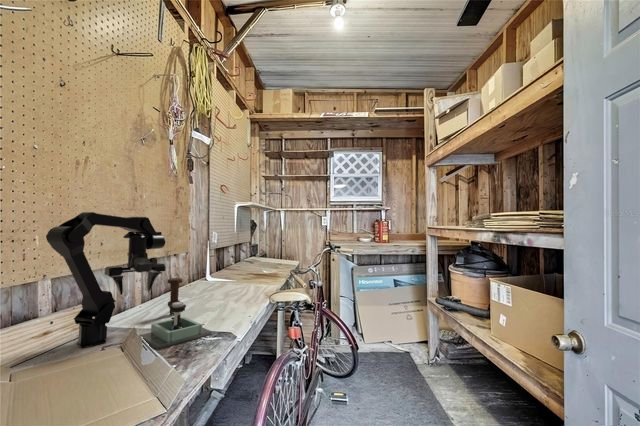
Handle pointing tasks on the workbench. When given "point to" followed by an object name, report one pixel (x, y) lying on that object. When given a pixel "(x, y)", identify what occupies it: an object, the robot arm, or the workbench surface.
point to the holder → (163, 330)
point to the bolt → (174, 291)
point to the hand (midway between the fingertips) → (135, 292)
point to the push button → (177, 314)
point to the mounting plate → (160, 343)
